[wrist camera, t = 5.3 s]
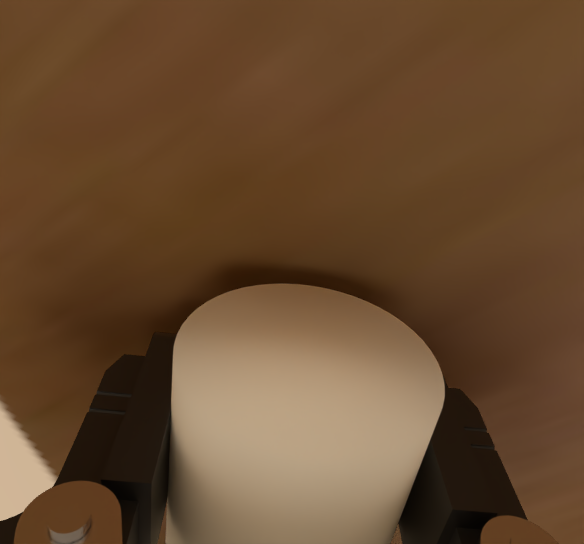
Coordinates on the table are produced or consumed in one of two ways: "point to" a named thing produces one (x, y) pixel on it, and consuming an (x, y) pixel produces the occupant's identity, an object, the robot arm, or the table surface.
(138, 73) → the table surface
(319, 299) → the white long cylinder
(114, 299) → the table surface
